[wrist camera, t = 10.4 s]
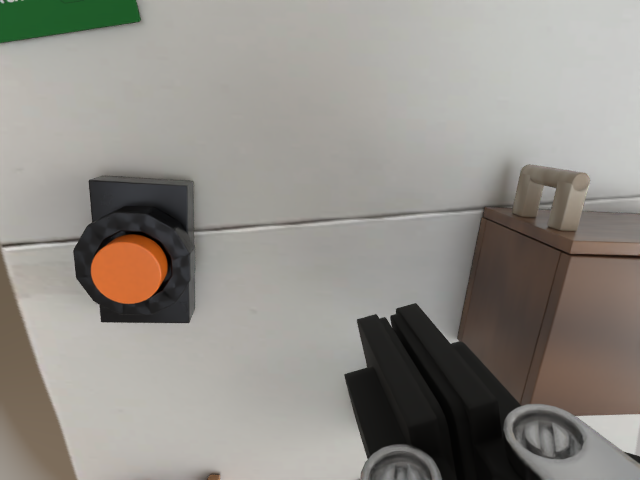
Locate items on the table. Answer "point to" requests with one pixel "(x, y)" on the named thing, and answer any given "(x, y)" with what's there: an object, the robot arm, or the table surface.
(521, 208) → the cupboard door
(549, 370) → the cupboard
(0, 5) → the business card
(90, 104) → the table surface
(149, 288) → the button
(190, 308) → the button box
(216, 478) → the brown ornamental carving
